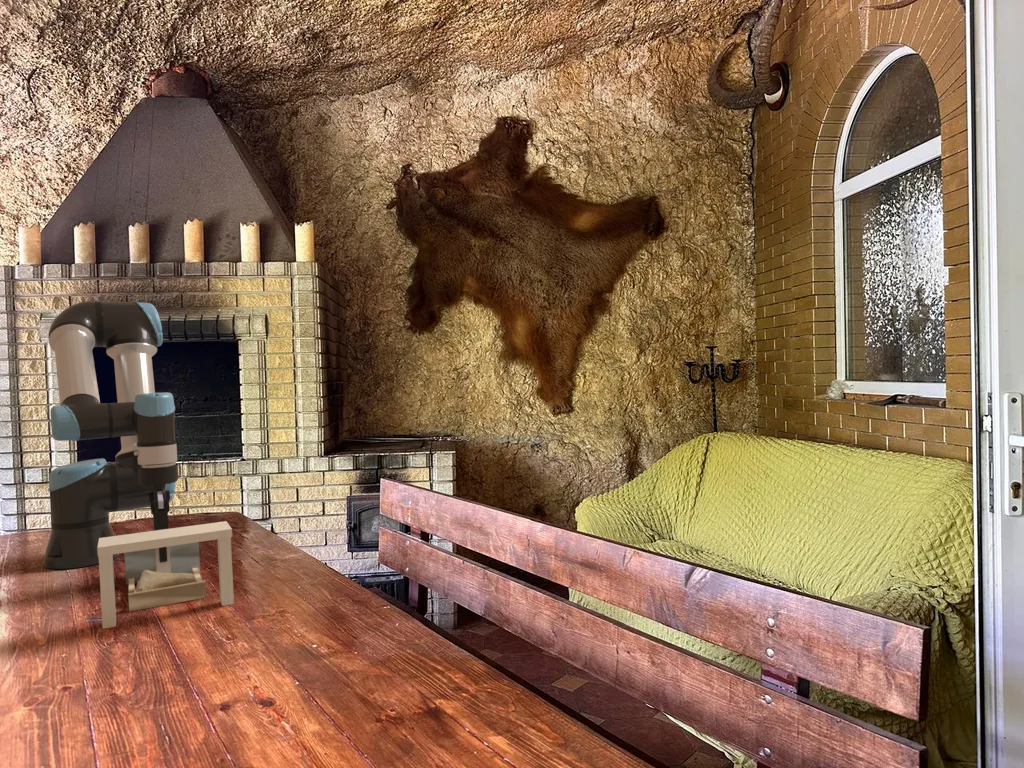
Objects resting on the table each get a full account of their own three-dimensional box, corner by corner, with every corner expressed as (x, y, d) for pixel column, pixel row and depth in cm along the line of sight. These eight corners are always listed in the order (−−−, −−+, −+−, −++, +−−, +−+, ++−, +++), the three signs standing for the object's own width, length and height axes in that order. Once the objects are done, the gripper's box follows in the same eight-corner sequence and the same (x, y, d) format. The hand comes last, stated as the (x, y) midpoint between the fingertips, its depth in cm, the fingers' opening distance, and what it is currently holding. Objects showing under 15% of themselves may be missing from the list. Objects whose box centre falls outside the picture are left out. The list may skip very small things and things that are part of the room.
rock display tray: (126, 579, 146) (123, 537, 146) (198, 568, 153) (196, 527, 153) (126, 612, 126) (123, 563, 126) (209, 596, 133) (207, 550, 133)
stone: (138, 603, 129) (136, 577, 129) (126, 597, 134) (124, 572, 133) (198, 587, 138) (197, 563, 138) (185, 582, 142) (184, 558, 142)
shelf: (103, 619, 123) (99, 538, 122) (230, 596, 133) (226, 521, 132) (102, 633, 116) (97, 547, 115) (235, 607, 126) (231, 528, 125)
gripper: (137, 462, 153) (142, 567, 154) (138, 471, 138) (144, 587, 139) (174, 459, 157) (180, 561, 157) (179, 467, 142) (185, 580, 142)
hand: (163, 573), depth 148 cm, fingers closed on rock display tray, 4 cm apart
